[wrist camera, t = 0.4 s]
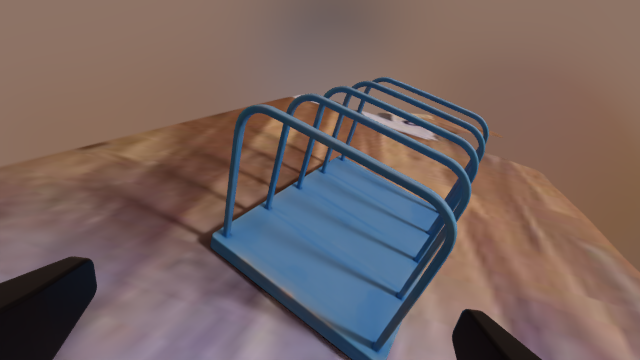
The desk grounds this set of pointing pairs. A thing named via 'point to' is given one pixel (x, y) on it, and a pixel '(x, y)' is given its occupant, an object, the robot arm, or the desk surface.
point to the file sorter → (349, 224)
